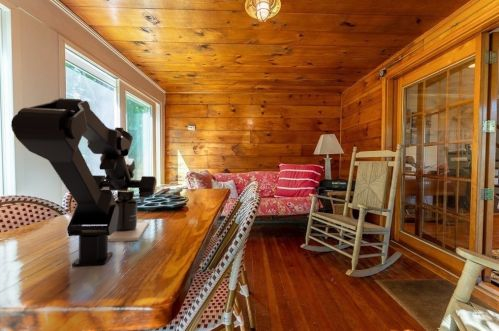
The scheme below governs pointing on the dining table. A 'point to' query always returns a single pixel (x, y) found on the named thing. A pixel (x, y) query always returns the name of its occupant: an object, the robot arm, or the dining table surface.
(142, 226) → the pale grey mat
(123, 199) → the supplement bottle
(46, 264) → the dining table surface
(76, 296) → the dining table surface
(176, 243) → the dining table surface
